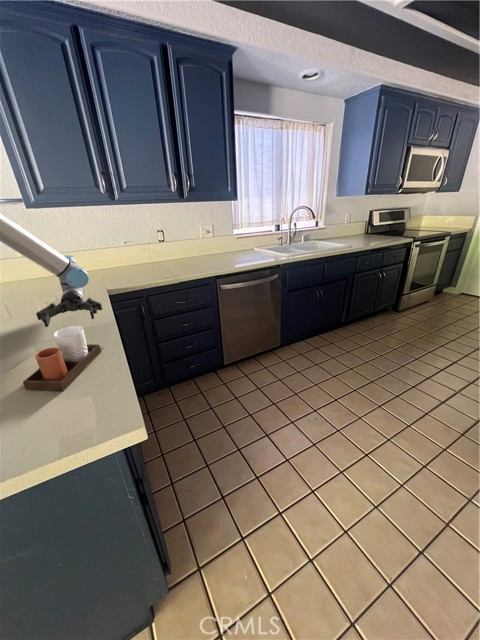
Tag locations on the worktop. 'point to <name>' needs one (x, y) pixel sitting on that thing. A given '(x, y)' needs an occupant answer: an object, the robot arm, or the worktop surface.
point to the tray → (74, 370)
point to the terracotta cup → (51, 364)
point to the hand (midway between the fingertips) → (69, 319)
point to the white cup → (71, 343)
